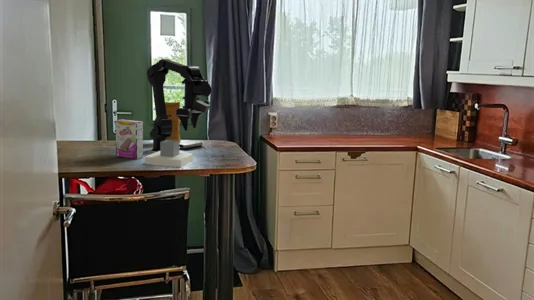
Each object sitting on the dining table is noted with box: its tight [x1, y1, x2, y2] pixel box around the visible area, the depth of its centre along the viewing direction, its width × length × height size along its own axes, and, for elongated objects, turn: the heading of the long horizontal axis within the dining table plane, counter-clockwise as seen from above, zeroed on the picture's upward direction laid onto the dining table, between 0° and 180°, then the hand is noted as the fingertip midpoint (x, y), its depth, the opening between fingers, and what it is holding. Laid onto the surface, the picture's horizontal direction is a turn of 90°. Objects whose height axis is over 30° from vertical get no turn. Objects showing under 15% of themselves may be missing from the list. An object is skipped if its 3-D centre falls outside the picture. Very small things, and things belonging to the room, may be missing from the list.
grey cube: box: [160, 140, 180, 157], centre depth 200 cm, size 6×6×6 cm
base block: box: [144, 151, 194, 168], centre depth 201 cm, size 16×14×3 cm
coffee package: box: [165, 101, 181, 144], centre depth 240 cm, size 10×12×22 cm
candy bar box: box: [115, 118, 144, 160], centre depth 206 cm, size 11×5×16 cm, turn 71°
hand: (190, 129), depth 210 cm, fingers open, 9 cm apart
